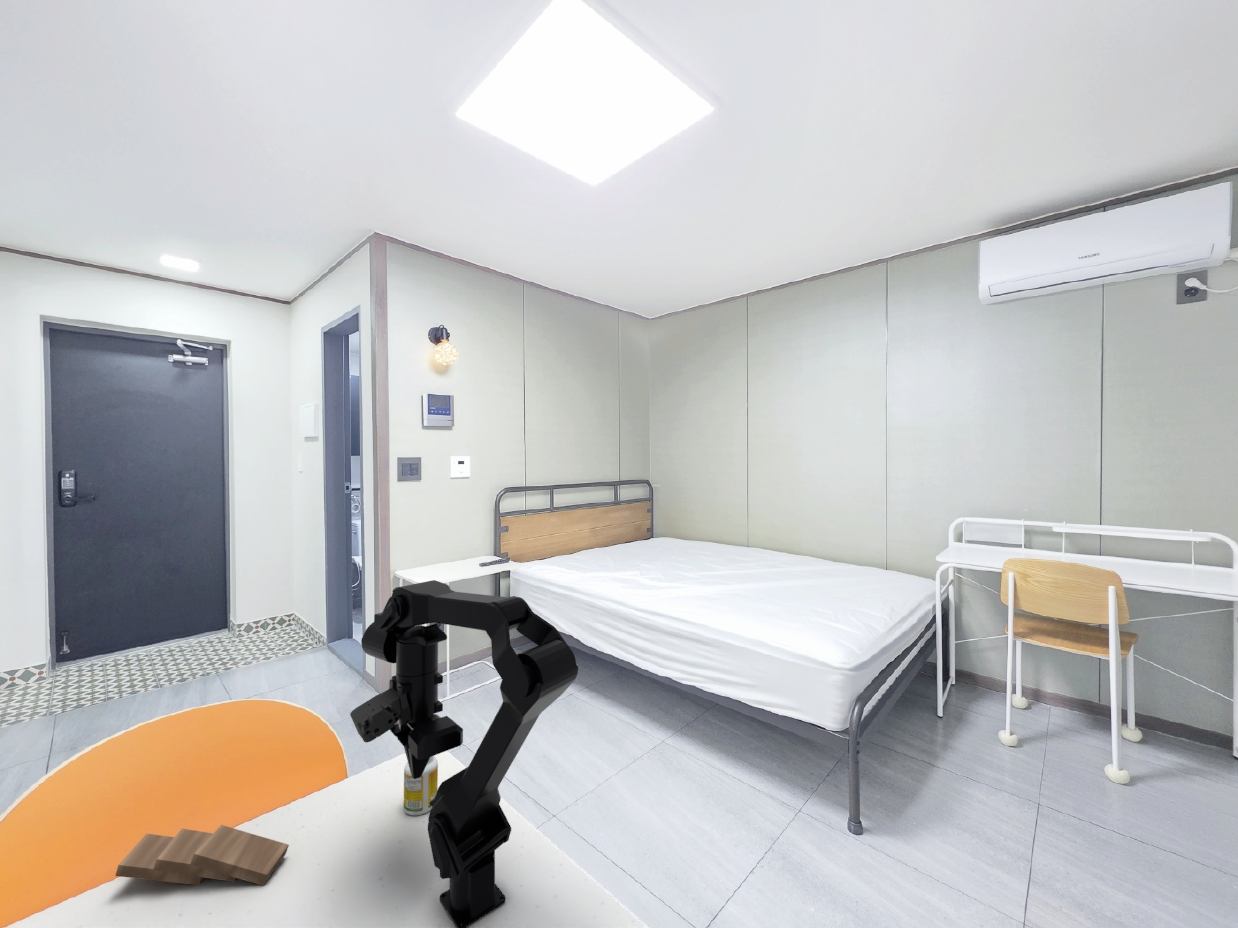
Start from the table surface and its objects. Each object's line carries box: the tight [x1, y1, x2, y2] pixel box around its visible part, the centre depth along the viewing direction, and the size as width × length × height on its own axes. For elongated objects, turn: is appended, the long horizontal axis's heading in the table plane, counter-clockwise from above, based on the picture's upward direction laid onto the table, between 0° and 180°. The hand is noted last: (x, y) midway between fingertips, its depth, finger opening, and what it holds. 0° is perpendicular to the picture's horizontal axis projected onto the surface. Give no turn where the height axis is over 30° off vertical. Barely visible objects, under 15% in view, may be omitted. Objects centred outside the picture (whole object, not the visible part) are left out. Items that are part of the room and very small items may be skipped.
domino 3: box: [190, 824, 290, 886], centre depth 70 cm, size 2×5×10 cm
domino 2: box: [153, 828, 237, 882], centre depth 70 cm, size 2×5×10 cm
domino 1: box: [114, 833, 205, 886], centre depth 69 cm, size 2×5×10 cm
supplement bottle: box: [403, 755, 439, 817], centre depth 84 cm, size 5×5×10 cm
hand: (416, 776), depth 72 cm, fingers closed
